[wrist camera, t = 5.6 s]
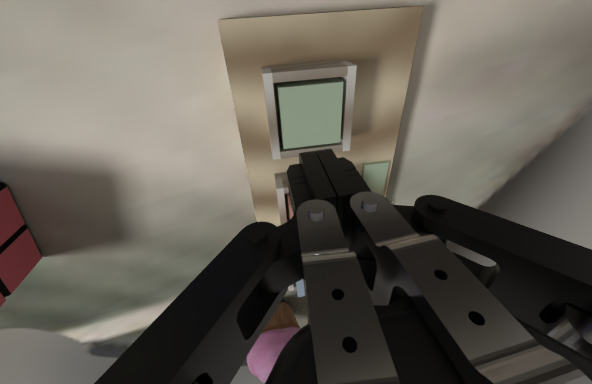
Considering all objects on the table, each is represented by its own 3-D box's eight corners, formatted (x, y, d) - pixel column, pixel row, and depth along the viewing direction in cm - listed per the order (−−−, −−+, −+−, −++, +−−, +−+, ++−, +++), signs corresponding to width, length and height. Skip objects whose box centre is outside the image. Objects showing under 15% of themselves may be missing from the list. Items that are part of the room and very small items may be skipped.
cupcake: (248, 324, 42) (248, 398, 34) (245, 294, 37) (244, 373, 29) (300, 318, 43) (312, 387, 35) (304, 288, 38) (319, 361, 30)
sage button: (275, 80, 18) (278, 88, 16) (333, 74, 19) (343, 81, 17) (280, 136, 21) (283, 149, 19) (331, 130, 21) (340, 142, 19)
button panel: (220, 19, 18) (212, 21, 14) (408, 6, 19) (446, 5, 15) (269, 277, 35) (271, 307, 32) (364, 261, 37) (377, 289, 33)
